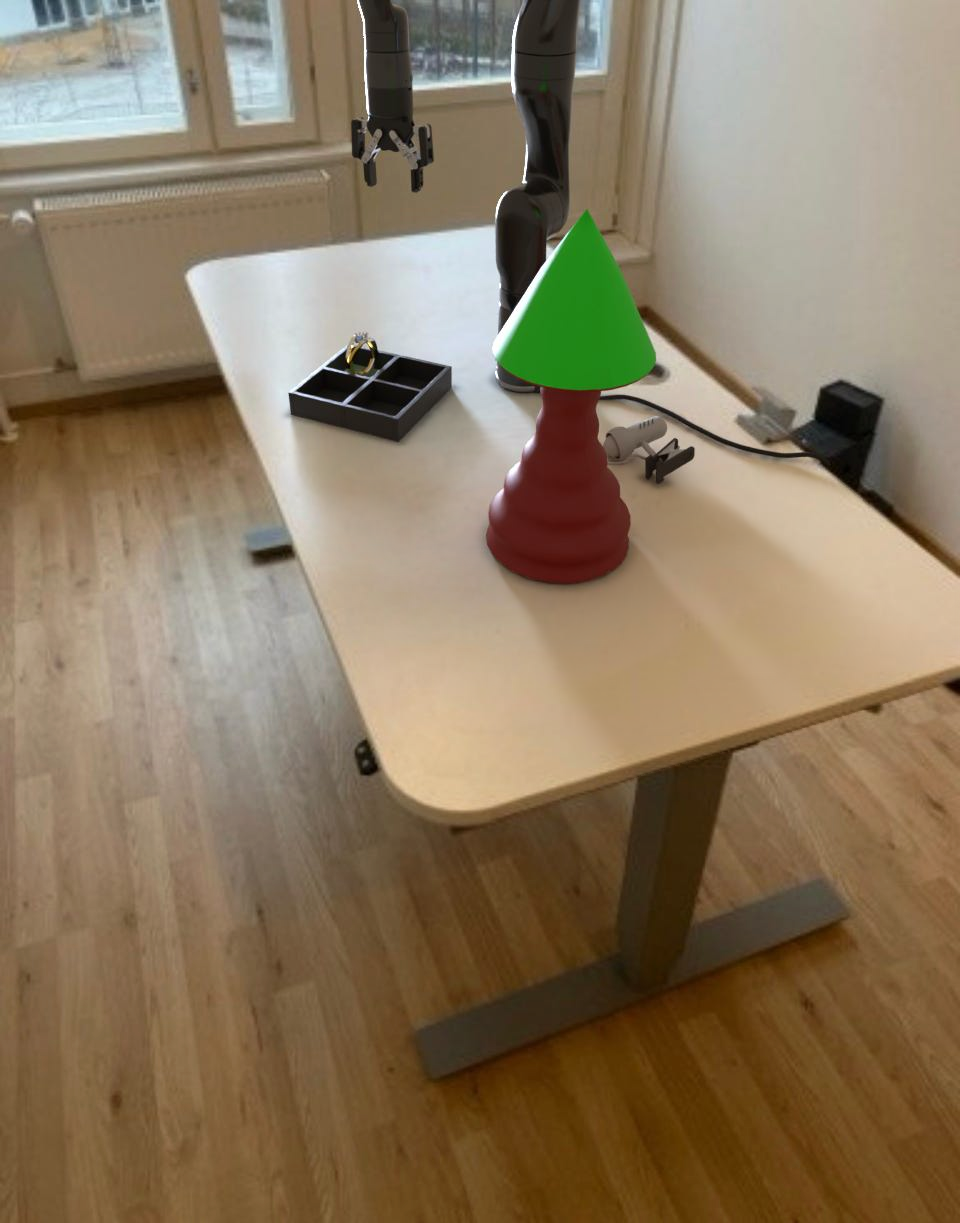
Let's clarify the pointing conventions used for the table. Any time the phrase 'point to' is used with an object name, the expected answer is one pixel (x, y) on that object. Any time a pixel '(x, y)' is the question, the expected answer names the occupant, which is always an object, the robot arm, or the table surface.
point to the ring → (351, 356)
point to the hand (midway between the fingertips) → (394, 188)
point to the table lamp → (568, 414)
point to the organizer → (372, 393)
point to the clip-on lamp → (647, 447)
